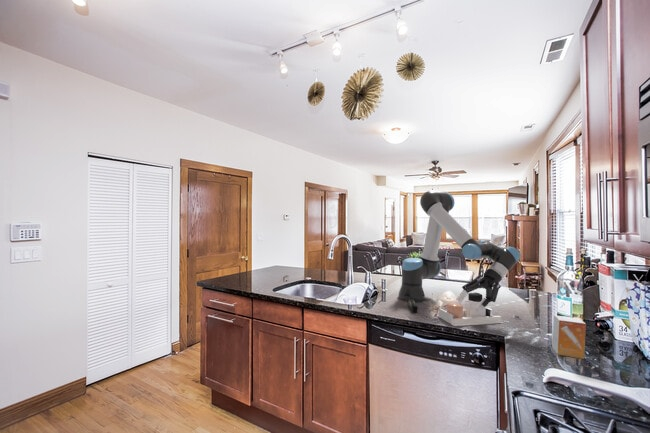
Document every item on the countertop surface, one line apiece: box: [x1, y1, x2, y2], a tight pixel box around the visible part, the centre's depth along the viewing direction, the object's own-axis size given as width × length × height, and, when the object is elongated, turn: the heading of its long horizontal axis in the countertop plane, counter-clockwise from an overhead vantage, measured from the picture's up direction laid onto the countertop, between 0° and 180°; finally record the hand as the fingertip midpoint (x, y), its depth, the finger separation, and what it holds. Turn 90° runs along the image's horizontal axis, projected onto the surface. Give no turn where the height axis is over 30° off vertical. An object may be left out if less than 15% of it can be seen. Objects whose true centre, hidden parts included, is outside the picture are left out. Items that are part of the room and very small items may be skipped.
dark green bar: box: [407, 299, 418, 314], centre depth 159 cm, size 5×3×15 cm
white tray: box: [436, 308, 504, 327], centre depth 145 cm, size 14×26×5 cm, turn 103°
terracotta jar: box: [446, 302, 464, 319], centre depth 143 cm, size 7×7×7 cm
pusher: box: [486, 306, 493, 316], centre depth 147 cm, size 8×4×5 cm, turn 13°
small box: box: [551, 314, 587, 360], centre depth 113 cm, size 8×6×13 cm
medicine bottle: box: [464, 291, 487, 318], centre depth 146 cm, size 7×7×12 cm
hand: (467, 305), depth 145 cm, fingers open, 13 cm apart
